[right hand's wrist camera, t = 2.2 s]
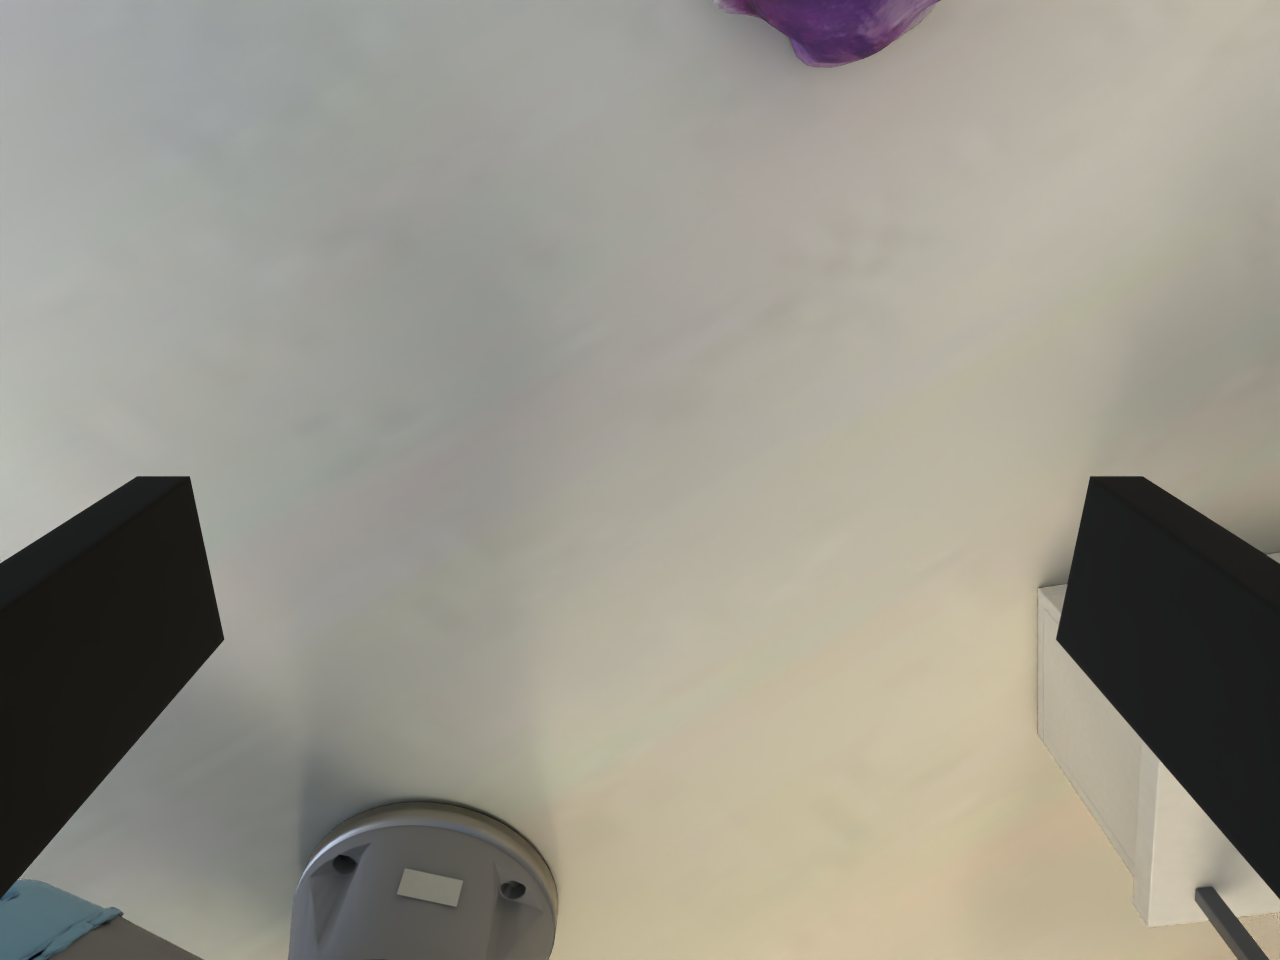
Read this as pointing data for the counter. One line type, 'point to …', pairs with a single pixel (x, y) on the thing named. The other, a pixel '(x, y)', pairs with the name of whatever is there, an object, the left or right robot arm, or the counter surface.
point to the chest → (1088, 733)
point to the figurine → (835, 25)
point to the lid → (1191, 865)
